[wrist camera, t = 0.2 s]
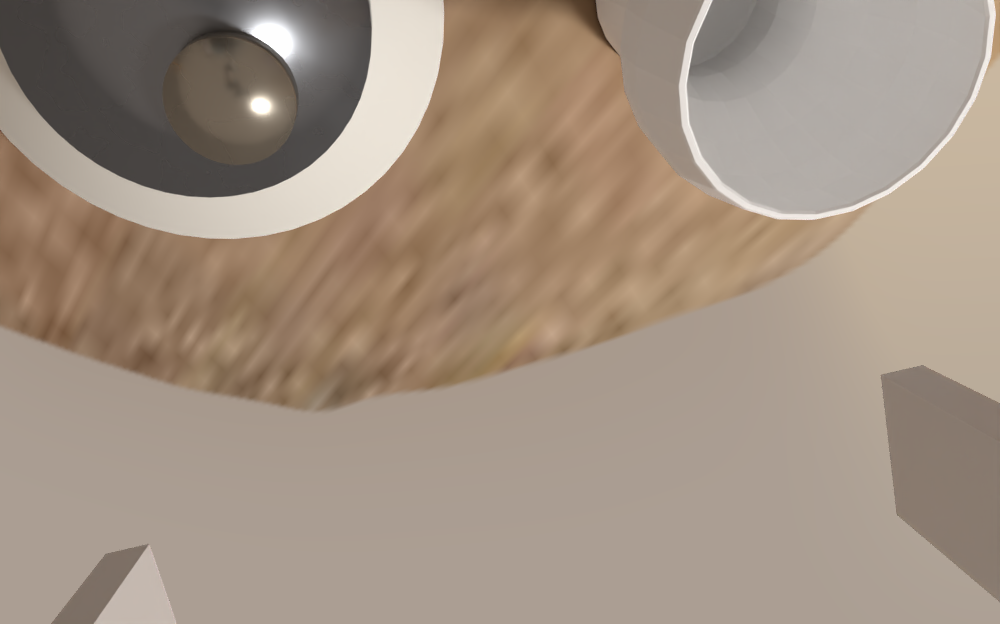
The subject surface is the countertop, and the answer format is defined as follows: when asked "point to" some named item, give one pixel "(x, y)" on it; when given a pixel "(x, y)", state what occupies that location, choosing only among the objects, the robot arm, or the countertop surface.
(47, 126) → the stand
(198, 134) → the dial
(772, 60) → the cup
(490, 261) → the countertop surface
